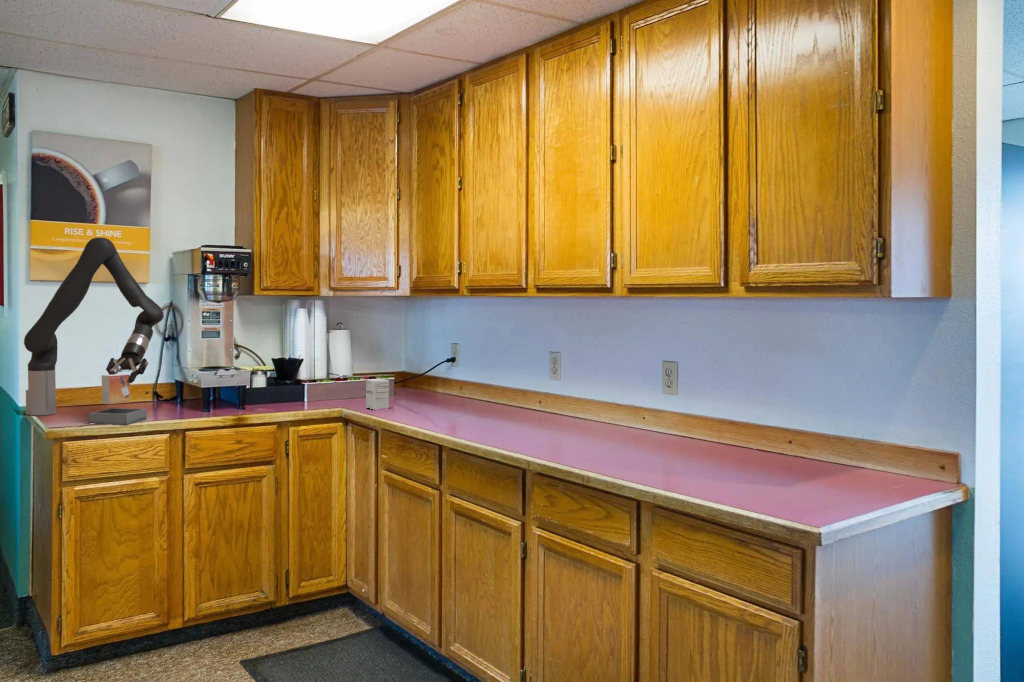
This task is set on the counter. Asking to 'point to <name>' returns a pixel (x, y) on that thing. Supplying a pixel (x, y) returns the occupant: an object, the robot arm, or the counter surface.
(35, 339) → the robot arm
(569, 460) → the counter surface
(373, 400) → the supplement box
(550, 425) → the counter surface
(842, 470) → the counter surface
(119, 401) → the small box
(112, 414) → the grey tray
